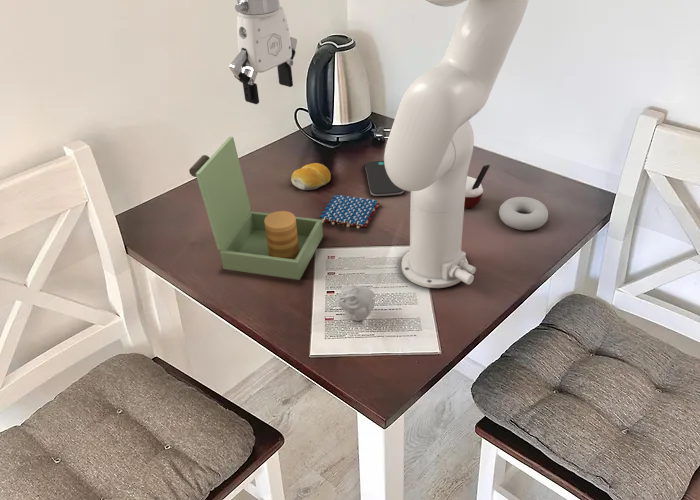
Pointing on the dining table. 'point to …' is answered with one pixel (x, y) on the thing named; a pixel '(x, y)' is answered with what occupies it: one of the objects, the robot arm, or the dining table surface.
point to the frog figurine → (356, 301)
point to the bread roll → (311, 176)
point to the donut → (516, 220)
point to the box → (252, 249)
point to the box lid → (222, 190)
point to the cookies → (282, 235)
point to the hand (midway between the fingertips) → (269, 93)
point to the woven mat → (349, 211)
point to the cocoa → (474, 189)
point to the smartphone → (380, 180)
